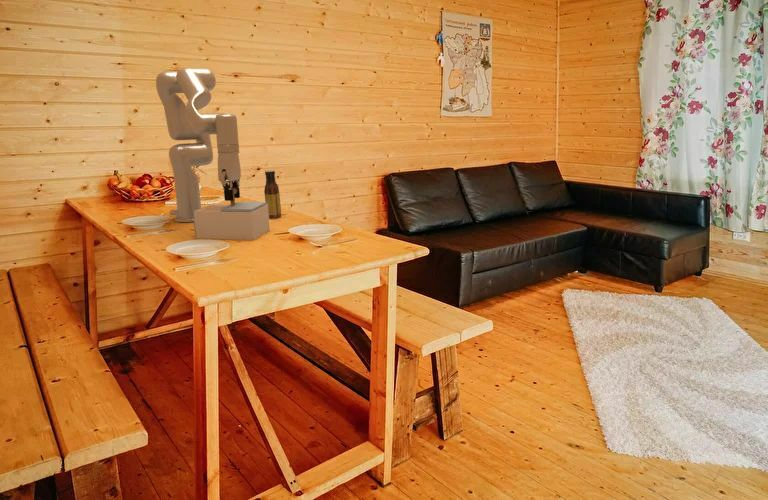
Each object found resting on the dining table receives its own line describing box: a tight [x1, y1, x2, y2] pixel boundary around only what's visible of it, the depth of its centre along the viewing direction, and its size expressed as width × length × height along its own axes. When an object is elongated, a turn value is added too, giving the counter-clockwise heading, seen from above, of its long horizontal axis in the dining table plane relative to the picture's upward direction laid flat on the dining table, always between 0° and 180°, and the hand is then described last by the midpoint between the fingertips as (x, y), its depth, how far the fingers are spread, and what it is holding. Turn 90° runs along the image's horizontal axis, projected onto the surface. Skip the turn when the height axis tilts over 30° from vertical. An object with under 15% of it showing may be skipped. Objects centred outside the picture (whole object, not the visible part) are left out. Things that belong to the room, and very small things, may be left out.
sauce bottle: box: [263, 169, 282, 219], centre depth 241 cm, size 7×6×20 cm
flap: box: [221, 187, 267, 212], centre depth 209 cm, size 12×15×7 cm
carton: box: [193, 202, 271, 241], centre depth 212 cm, size 23×16×10 cm
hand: (232, 198), depth 210 cm, fingers closed on flap, 5 cm apart
